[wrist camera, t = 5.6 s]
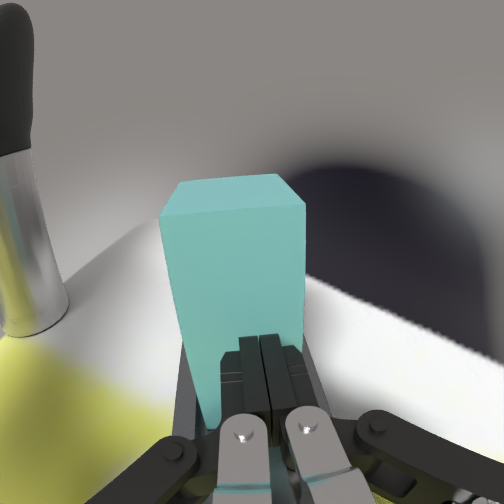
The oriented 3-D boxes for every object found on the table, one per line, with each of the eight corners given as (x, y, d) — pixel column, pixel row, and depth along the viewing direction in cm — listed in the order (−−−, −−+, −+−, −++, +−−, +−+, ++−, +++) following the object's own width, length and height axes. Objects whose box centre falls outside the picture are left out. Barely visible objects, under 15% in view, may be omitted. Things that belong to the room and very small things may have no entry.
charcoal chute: (354, 512, 11) (368, 493, 10) (174, 531, 10) (156, 516, 9) (282, 288, 32) (282, 262, 31) (193, 296, 31) (188, 270, 30)
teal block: (297, 420, 15) (305, 203, 11) (206, 429, 15) (158, 216, 10) (280, 351, 21) (276, 173, 16) (208, 358, 21) (180, 181, 16)
